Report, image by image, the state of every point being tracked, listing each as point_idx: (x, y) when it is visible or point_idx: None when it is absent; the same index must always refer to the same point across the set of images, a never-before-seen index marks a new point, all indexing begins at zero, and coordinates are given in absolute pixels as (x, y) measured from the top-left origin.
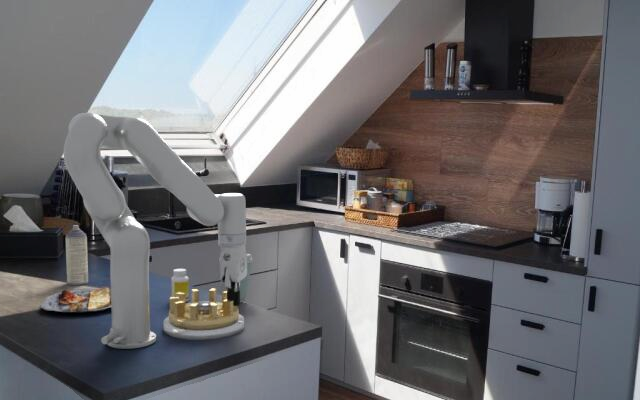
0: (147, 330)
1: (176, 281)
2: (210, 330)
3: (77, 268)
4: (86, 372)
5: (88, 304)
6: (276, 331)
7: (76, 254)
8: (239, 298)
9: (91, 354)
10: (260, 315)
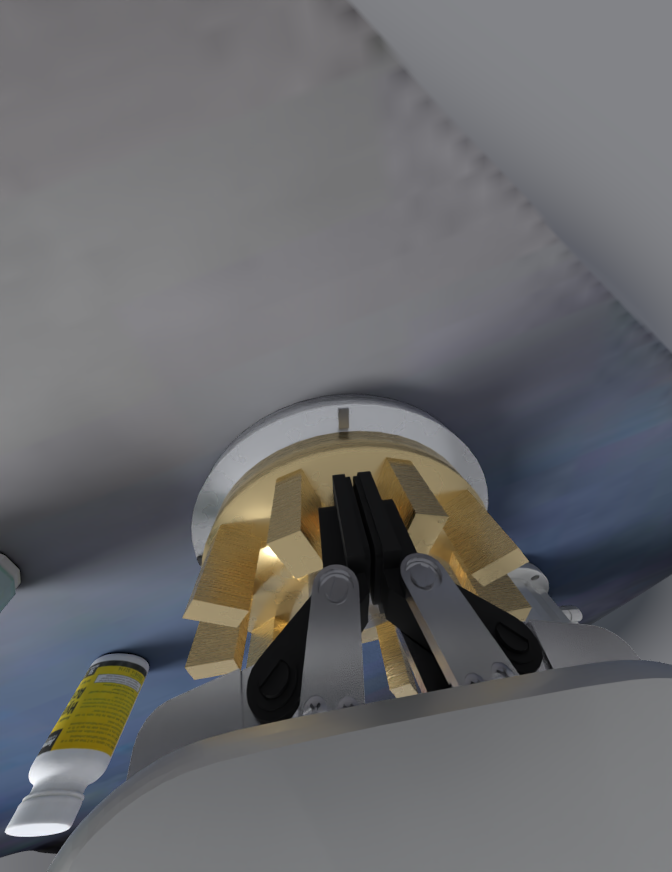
0: None
1: (106, 758)
2: (464, 478)
3: None
4: (659, 570)
5: None
6: (311, 198)
7: None
8: (351, 500)
9: None
10: (87, 397)
